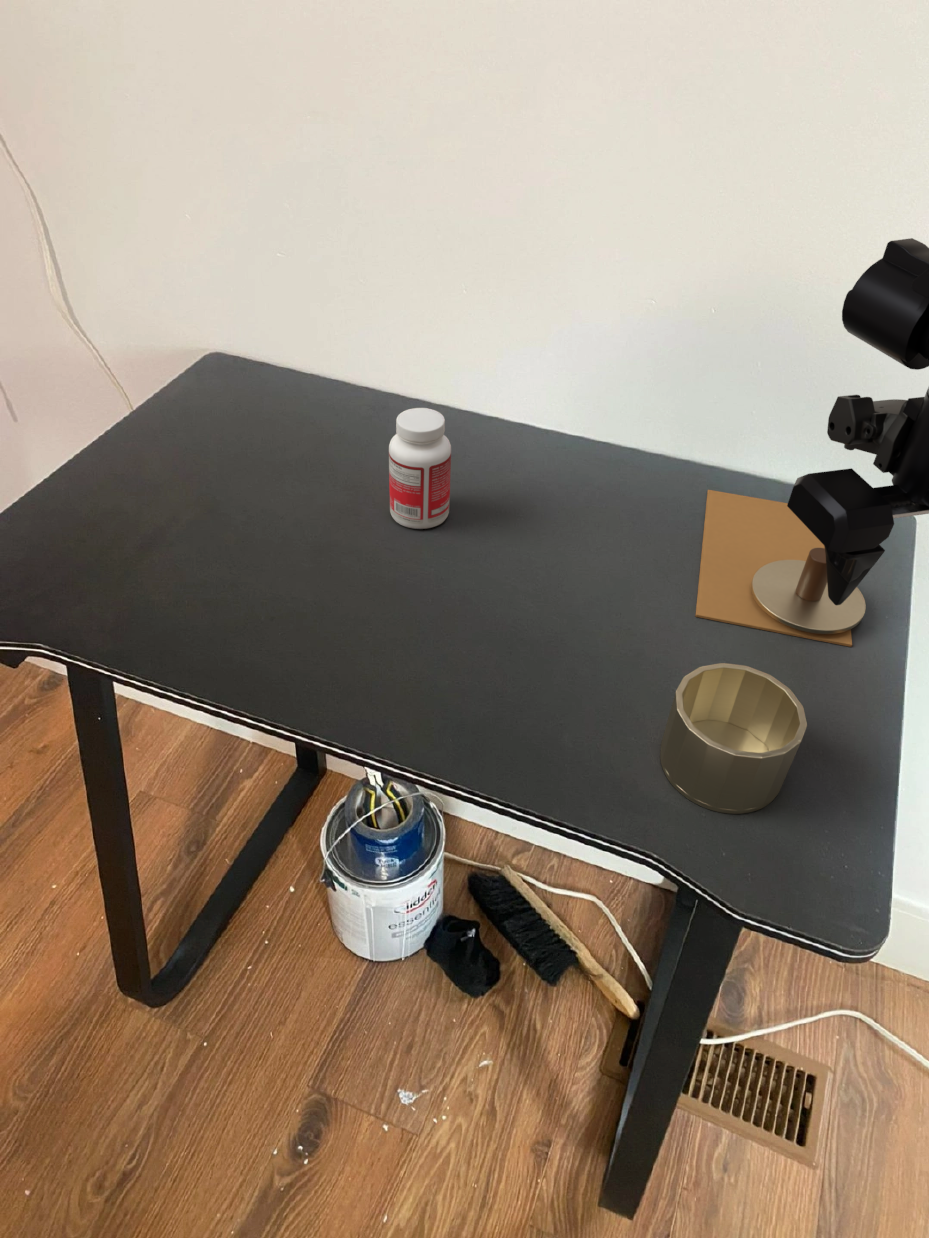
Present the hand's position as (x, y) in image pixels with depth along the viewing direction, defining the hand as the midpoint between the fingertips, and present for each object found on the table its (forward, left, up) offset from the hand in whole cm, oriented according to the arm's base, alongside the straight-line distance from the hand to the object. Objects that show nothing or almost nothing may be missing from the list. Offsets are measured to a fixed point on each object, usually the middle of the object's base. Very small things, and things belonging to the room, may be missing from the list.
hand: (887, 592), depth 68 cm
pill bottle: (+41, -17, -13) cm, 46 cm away
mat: (+5, -20, -13) cm, 24 cm away
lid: (+2, -14, -12) cm, 19 cm away
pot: (+9, +9, -13) cm, 18 cm away
